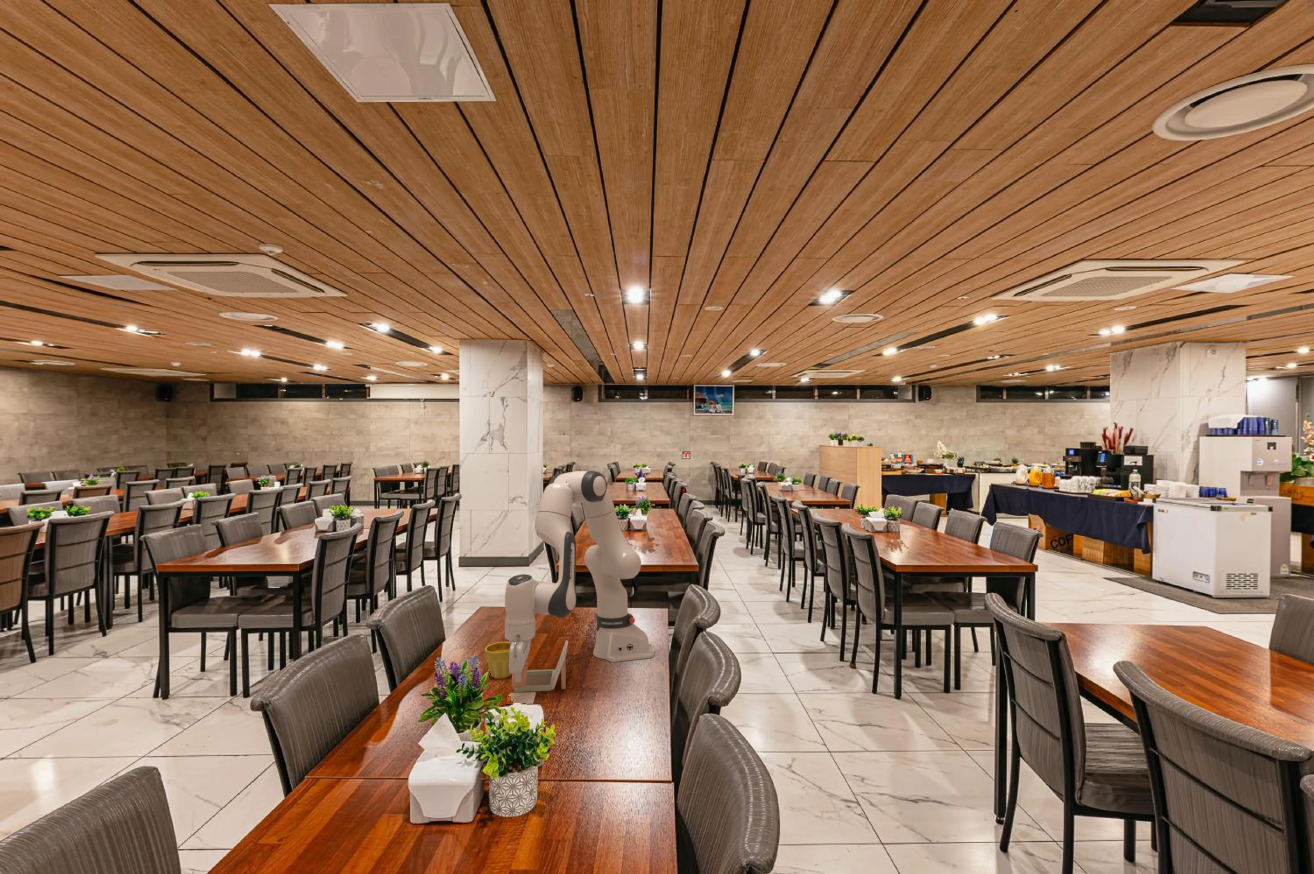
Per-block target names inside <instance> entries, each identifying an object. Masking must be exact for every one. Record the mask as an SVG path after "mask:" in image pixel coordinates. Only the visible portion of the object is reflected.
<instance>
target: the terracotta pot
mask: <svg viewBox="0 0 1314 874" xmlns="http://www.w3.org/2000/svg"><path fill="white" fill-rule="evenodd" d="M528 665H529V660H528V658H527V659H526V662H525V664H524V667H523V670H522V680H521V682H515V673H512V674H511V687H512V688H513V689H514V688H523V687H525V686H527V671H528Z"/></svg>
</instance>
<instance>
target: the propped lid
mask: <svg viewBox="0 0 1314 874" xmlns="http://www.w3.org/2000/svg"><path fill="white" fill-rule="evenodd" d="M568 645H569V640H565V642H564V645H563V648H562V650H561V654H560V656H559V659H558V661H557V663H556V667H555V669H556V670H555V675H554V680H553V685H552V690H555V687H556V684H557V681H558V679H559V676H560V674H561V690H566V688H567V687H566V678H567V677H566V674H567V673H566V667H567V666H566V663H567V662H566V656H567V650H568V647H569V646H568Z"/></svg>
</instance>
